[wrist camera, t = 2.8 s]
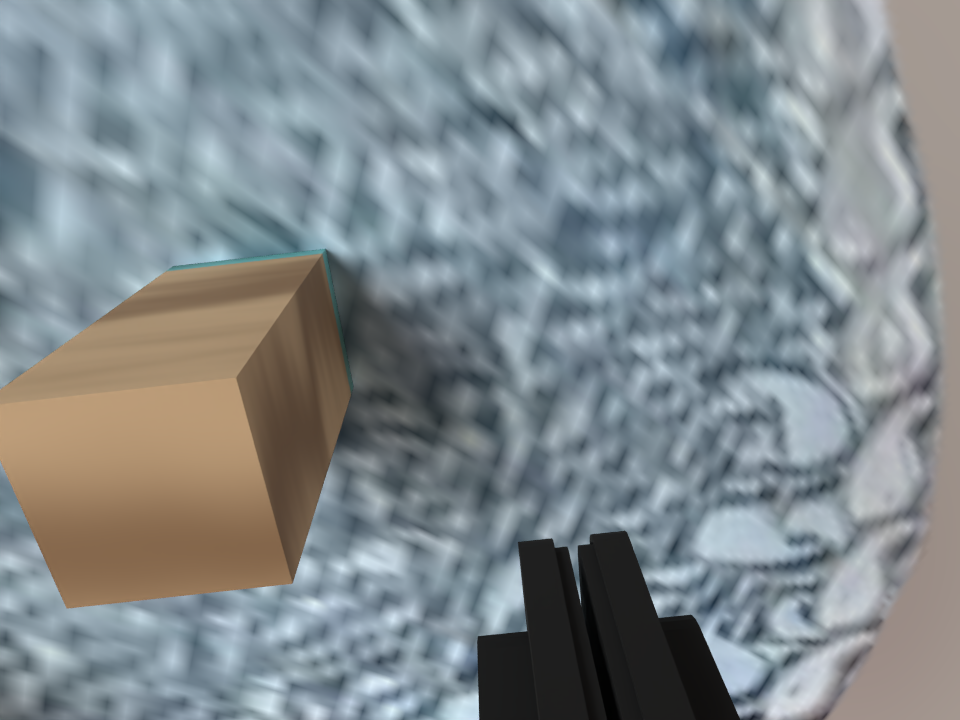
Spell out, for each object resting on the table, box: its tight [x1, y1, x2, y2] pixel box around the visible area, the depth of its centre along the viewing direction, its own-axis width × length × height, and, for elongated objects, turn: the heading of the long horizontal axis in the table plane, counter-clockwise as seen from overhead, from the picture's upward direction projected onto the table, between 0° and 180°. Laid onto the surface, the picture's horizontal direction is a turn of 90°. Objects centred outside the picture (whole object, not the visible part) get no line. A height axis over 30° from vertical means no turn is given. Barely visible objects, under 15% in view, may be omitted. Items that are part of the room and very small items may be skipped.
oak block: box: [0, 249, 353, 608], centre depth 19 cm, size 5×5×10 cm
